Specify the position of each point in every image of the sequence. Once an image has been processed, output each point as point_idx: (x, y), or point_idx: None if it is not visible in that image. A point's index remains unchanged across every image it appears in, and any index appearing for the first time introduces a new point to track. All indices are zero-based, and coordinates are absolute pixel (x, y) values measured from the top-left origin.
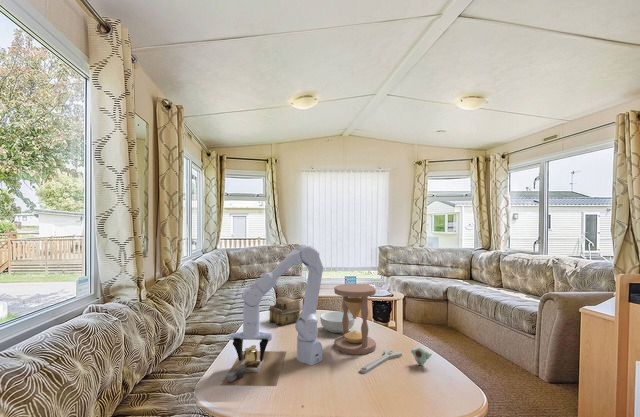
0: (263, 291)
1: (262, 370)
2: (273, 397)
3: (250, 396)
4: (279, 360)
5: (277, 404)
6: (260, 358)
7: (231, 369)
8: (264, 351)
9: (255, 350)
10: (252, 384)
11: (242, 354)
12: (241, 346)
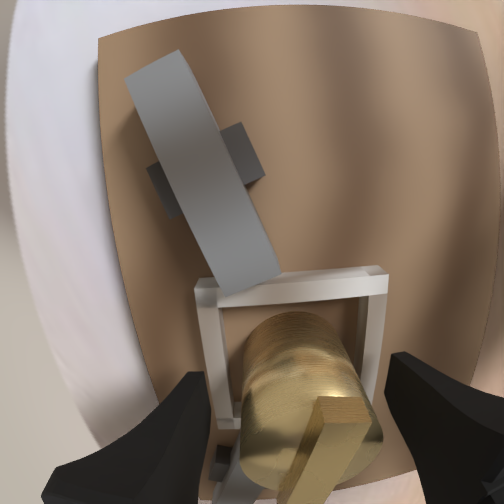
0: None
1: (383, 375)
2: (417, 481)
3: (341, 500)
4: (477, 199)
5: (423, 495)
6: (395, 414)
7: (162, 390)
8: (447, 382)
9: (364, 444)
10: (344, 484)
11: (120, 102)
12: (179, 473)
